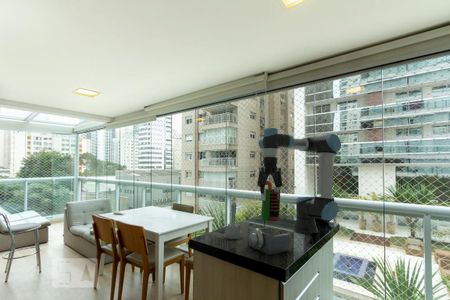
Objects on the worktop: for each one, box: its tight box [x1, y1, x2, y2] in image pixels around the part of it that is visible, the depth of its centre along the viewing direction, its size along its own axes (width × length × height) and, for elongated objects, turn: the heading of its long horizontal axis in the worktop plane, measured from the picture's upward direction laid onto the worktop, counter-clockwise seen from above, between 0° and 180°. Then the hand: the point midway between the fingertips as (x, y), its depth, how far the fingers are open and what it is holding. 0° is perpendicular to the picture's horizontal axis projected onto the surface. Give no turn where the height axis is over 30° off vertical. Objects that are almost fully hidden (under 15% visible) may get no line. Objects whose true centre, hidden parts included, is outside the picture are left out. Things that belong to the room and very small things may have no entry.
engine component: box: [224, 201, 242, 240], centre depth 142 cm, size 11×20×10 cm
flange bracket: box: [247, 226, 291, 256], centre depth 121 cm, size 18×16×10 cm
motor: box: [260, 180, 281, 222], centre depth 124 cm, size 10×9×20 cm
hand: (270, 199), depth 124 cm, fingers closed on motor, 8 cm apart
